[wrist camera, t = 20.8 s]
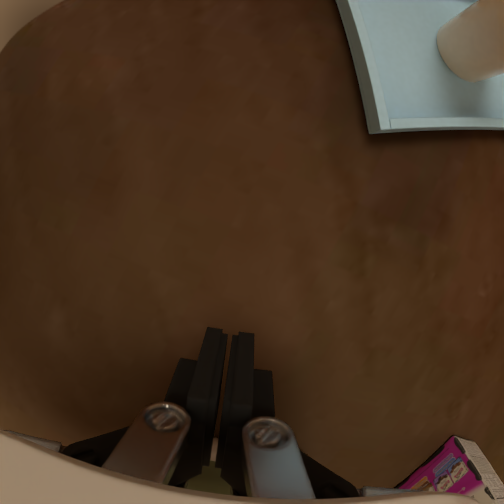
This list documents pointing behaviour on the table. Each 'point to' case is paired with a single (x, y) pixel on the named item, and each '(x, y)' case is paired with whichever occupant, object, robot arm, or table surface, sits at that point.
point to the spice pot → (474, 41)
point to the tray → (414, 69)
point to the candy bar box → (458, 473)
